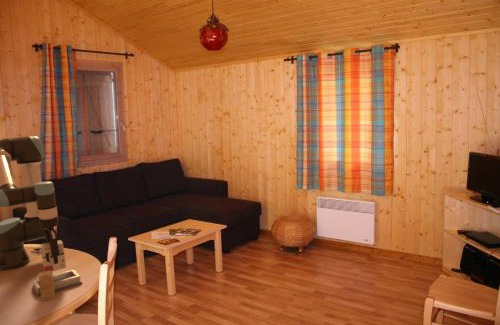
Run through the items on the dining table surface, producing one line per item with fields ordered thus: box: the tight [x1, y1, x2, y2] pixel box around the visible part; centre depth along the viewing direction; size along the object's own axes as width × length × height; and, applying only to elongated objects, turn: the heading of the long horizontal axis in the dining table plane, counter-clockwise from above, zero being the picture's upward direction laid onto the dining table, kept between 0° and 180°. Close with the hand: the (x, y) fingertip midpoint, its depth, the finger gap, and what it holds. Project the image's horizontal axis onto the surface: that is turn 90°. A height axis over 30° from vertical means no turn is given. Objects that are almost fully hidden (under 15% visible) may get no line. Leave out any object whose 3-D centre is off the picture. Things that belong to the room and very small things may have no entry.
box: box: [38, 270, 56, 302], centre depth 172 cm, size 5×4×11 cm
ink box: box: [40, 239, 67, 272], centre depth 182 cm, size 8×5×12 cm, turn 124°
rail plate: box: [31, 269, 83, 298], centre depth 184 cm, size 12×18×4 cm, turn 128°
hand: (55, 268), depth 183 cm, fingers closed on ink box, 5 cm apart
